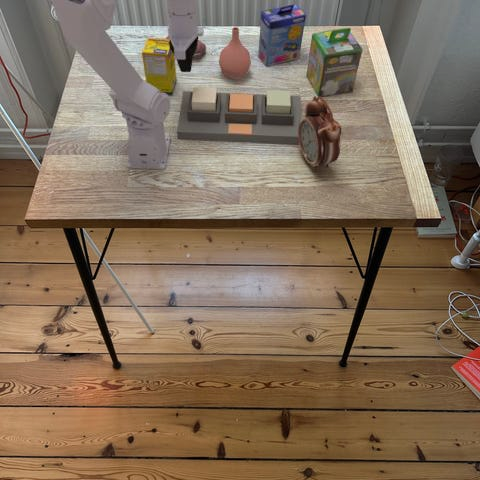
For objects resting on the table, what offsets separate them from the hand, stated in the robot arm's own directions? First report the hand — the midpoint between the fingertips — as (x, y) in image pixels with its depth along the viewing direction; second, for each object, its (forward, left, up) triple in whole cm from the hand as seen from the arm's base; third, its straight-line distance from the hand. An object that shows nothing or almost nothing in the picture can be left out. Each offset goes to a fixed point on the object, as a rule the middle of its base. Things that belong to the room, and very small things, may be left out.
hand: (185, 70), depth 108 cm
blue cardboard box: (+22, -21, -11) cm, 32 cm away
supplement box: (+8, +7, -11) cm, 15 cm away
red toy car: (+22, +3, -11) cm, 25 cm away
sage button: (-3, -20, -7) cm, 21 cm away
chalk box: (+12, -33, -11) cm, 37 cm away
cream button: (-3, -4, -7) cm, 9 cm away
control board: (-3, -12, -10) cm, 16 cm away
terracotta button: (-3, -12, -8) cm, 15 cm away
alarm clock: (-15, -28, -11) cm, 33 cm away
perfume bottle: (+14, -10, -11) cm, 20 cm away
